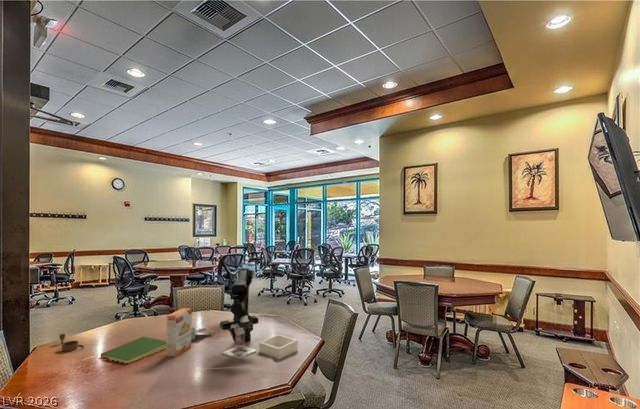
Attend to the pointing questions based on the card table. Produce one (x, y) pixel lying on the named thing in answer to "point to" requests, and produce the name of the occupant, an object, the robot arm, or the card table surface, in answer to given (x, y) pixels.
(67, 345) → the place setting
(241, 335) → the pill bottle
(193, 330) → the metal bracket
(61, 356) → the card table surface
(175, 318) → the cracker box
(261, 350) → the bin
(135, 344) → the hardcover book
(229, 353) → the socket block
